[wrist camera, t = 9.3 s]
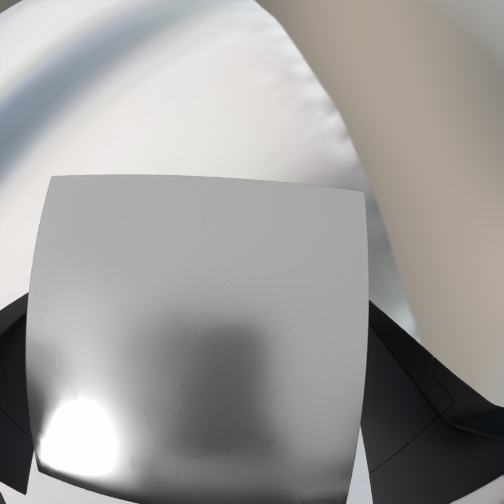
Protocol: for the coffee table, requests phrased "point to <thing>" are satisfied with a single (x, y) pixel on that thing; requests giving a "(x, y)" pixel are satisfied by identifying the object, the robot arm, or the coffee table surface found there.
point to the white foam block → (198, 338)
